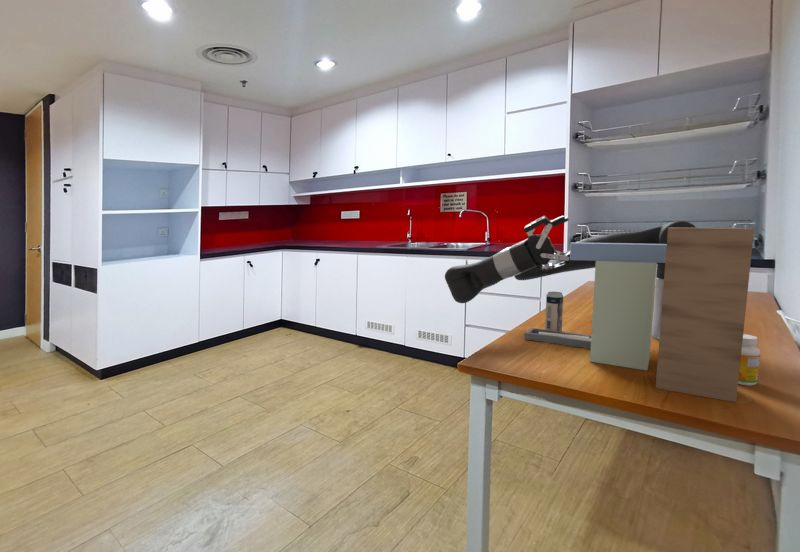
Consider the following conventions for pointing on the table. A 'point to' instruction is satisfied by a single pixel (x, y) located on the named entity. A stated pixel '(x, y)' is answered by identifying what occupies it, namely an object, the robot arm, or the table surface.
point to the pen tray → (557, 338)
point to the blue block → (618, 252)
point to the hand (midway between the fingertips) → (575, 233)
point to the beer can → (554, 311)
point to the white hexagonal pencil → (567, 336)
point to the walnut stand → (704, 310)
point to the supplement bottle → (749, 361)
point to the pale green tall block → (623, 313)
